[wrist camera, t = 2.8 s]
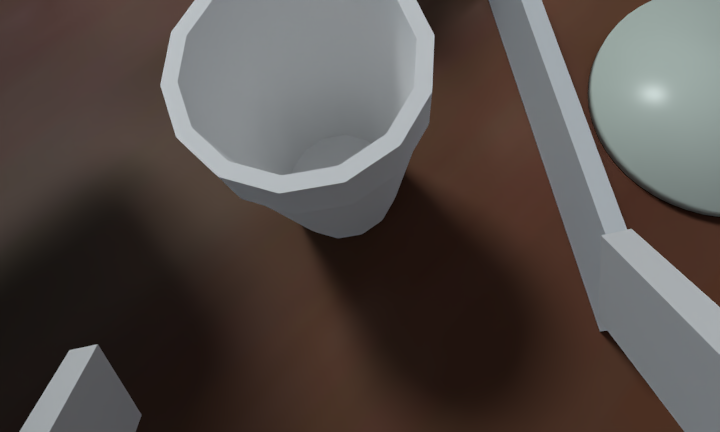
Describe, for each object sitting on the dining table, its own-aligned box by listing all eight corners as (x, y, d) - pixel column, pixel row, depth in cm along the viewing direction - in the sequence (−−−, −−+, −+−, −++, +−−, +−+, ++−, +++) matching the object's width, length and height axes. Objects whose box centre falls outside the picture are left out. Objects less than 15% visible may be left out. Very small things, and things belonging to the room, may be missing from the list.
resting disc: (537, 90, 30) (540, 83, 29) (703, -41, 31) (711, -51, 31) (726, 270, 26) (736, 267, 25) (905, 111, 28) (920, 105, 27)
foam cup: (456, 180, 29) (494, 46, 16) (346, 299, 28) (298, 252, 15) (338, 85, 31) (293, -94, 19) (232, 191, 30) (108, 73, 17)
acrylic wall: (484, -12, 32) (496, -68, 28) (499, -15, 32) (514, -73, 28) (599, 331, 26) (638, 326, 22) (618, 327, 26) (661, 321, 22)
